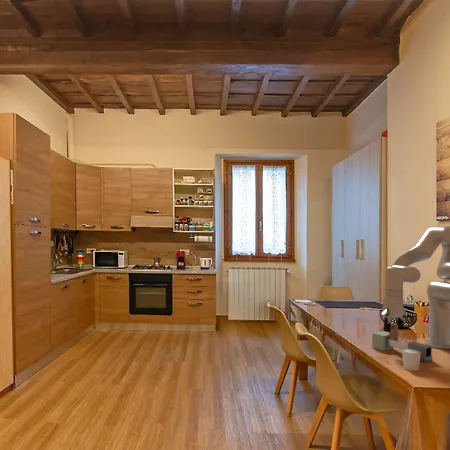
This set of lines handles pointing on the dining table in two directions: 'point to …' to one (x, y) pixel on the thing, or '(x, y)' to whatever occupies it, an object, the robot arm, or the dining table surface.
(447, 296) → the robot arm
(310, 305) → the dining table surface
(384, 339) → the socket block
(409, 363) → the shot glass
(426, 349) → the sleeve
